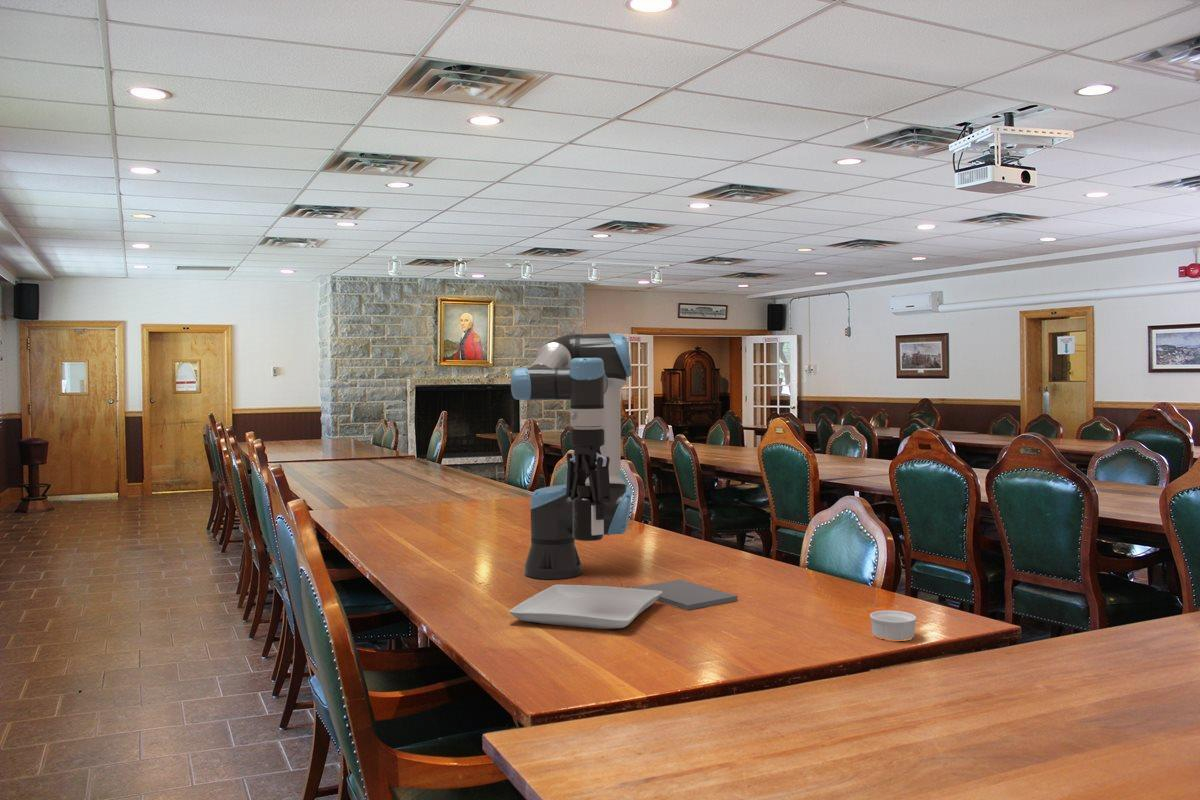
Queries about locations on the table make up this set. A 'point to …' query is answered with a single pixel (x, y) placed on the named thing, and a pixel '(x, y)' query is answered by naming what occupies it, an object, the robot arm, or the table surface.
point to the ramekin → (893, 624)
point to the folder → (689, 594)
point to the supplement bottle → (583, 514)
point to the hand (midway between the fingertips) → (588, 532)
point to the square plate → (586, 606)
